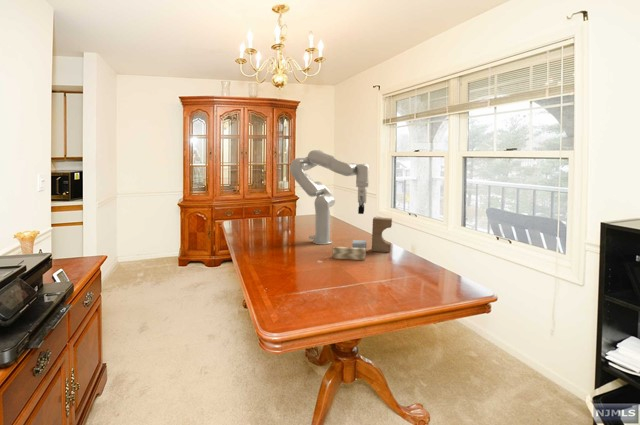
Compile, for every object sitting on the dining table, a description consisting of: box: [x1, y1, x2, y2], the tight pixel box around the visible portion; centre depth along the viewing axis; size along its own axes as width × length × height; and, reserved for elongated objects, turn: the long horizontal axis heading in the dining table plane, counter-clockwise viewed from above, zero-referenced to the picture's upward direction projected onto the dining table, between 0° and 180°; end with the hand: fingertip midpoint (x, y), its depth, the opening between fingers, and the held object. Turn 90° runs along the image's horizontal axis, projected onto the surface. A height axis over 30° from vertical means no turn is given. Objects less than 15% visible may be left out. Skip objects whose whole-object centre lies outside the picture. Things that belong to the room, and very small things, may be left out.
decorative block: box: [371, 216, 393, 253], centre depth 218 cm, size 11×6×20 cm, turn 75°
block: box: [351, 239, 367, 255], centre depth 217 cm, size 8×8×6 cm
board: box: [332, 246, 367, 261], centre depth 202 cm, size 18×3×6 cm, turn 81°
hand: (361, 212), depth 224 cm, fingers open, 8 cm apart
